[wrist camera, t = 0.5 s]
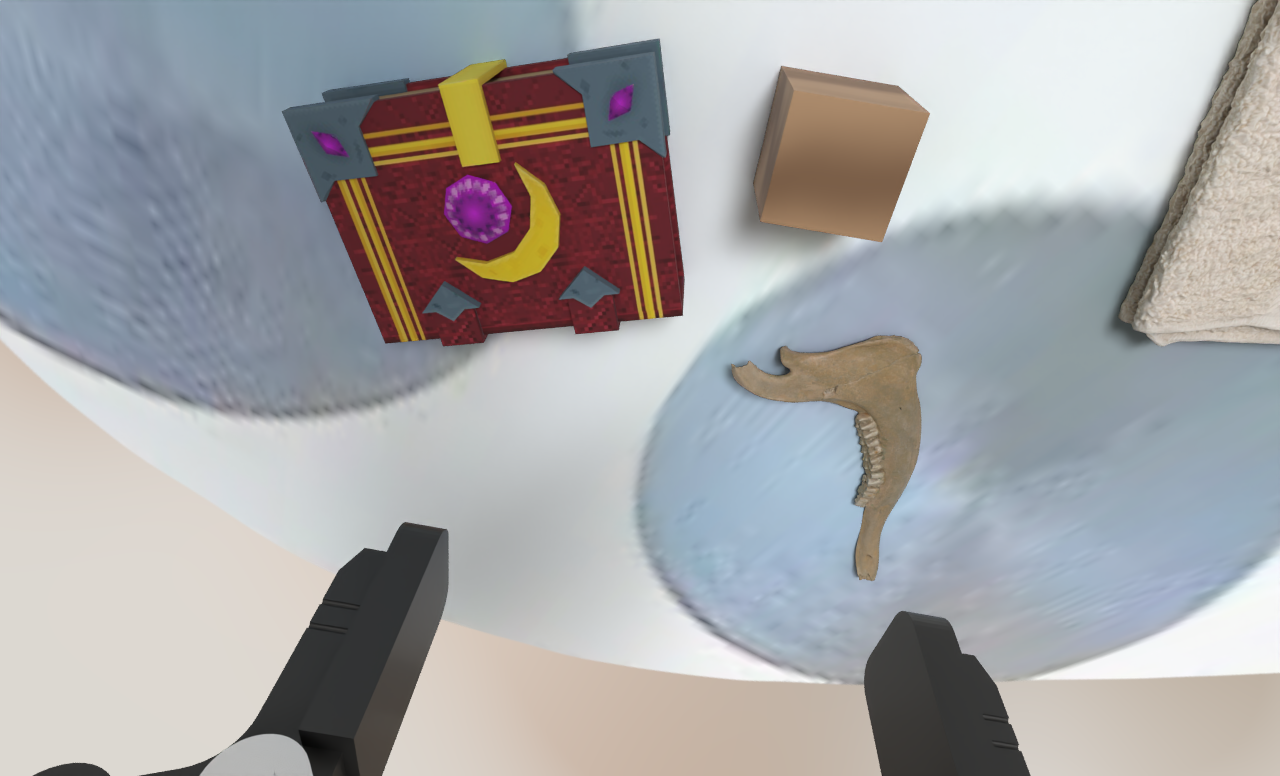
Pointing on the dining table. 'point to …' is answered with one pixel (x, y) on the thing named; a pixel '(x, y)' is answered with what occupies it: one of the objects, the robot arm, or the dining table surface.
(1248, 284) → the washcloth
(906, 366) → the jawbone
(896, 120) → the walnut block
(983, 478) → the dining table surface
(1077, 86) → the dining table surface
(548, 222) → the decorative book
